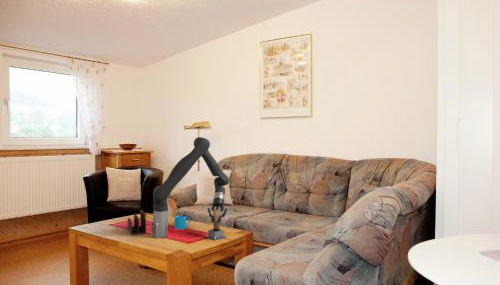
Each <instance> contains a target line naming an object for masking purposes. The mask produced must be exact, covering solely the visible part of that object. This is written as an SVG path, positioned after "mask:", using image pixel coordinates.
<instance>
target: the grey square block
mask: <svg viewBox="0 0 500 285" xmlns="http://www.w3.org/2000/svg"><path fill="white" fill-rule="evenodd" d="M207 232H208V233H207V234H208V235H205V238H206V237H207V238H206V239H209V240H212V241H218V240H223V239H224V240H225V239H227V238H228V237H227V236H226V235H225V234H224V233H225V230H224V229H221V228H219V231H216V232H215V231H214V228H211V229H208V231H207Z"/></svg>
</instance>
